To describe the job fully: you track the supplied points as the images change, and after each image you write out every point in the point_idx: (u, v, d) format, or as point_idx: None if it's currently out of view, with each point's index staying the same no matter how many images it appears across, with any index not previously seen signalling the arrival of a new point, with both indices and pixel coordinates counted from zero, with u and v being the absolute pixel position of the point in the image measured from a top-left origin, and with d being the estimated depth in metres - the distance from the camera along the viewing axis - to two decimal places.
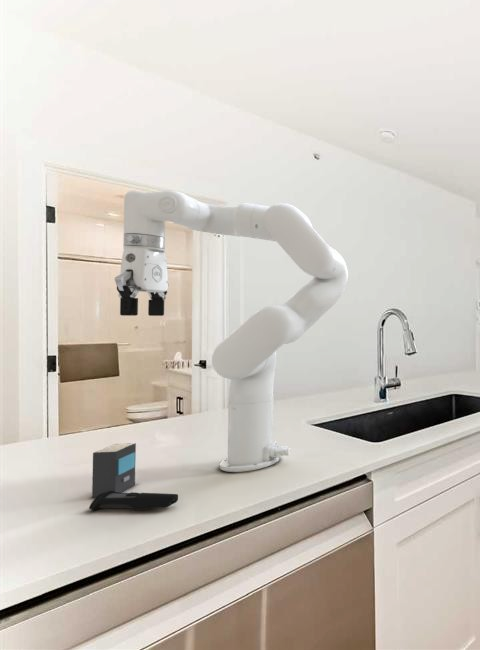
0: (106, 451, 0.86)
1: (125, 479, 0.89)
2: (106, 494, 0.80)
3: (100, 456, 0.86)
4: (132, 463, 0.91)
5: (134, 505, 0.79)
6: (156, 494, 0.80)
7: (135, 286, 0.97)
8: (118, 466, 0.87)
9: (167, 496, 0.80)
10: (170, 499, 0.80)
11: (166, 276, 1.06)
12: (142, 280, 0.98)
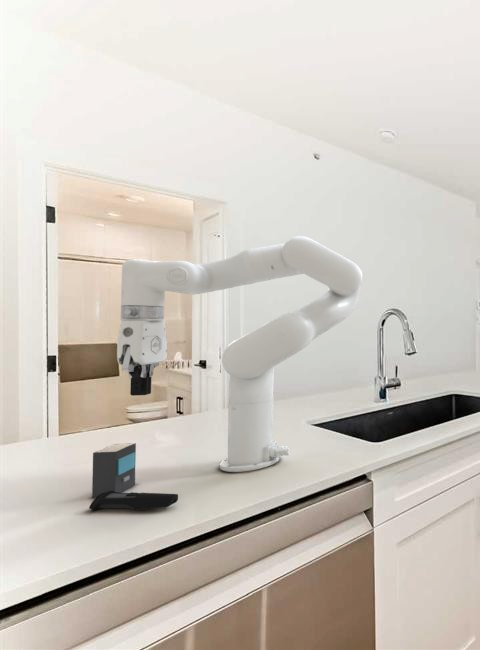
0: (106, 451, 0.86)
1: (125, 479, 0.89)
2: (106, 494, 0.80)
3: (100, 456, 0.86)
4: (132, 463, 0.91)
5: (134, 505, 0.79)
6: (156, 494, 0.80)
7: (140, 366, 0.95)
8: (118, 466, 0.87)
9: (167, 496, 0.80)
10: (170, 499, 0.80)
11: (165, 345, 1.01)
12: (140, 355, 0.93)
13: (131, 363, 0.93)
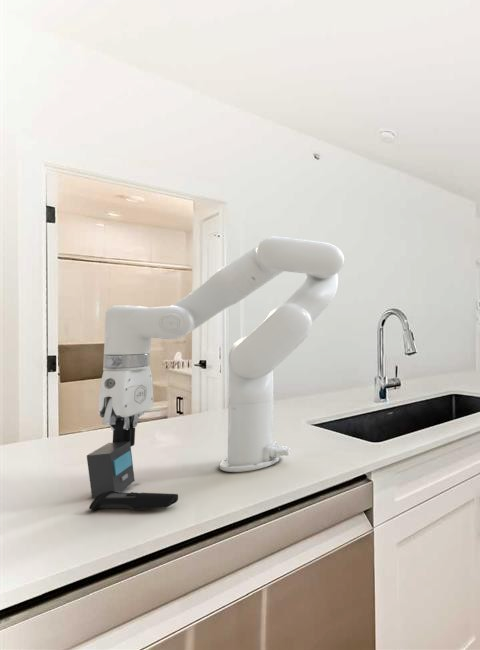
0: (100, 453, 0.85)
1: (123, 478, 0.88)
2: (106, 494, 0.80)
3: (94, 458, 0.85)
4: (128, 461, 0.90)
5: (134, 505, 0.79)
6: (156, 494, 0.80)
7: (123, 418, 0.90)
8: (114, 467, 0.86)
9: (167, 496, 0.80)
10: (170, 499, 0.80)
11: (151, 392, 0.97)
12: (122, 408, 0.88)
13: (113, 416, 0.88)
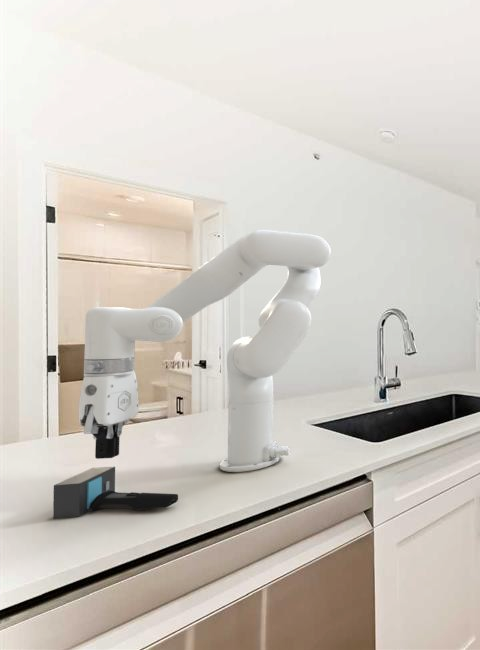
0: (66, 514, 0.77)
1: (107, 487, 0.84)
2: (106, 494, 0.80)
3: None
4: (97, 483, 0.81)
5: (134, 505, 0.79)
6: (156, 494, 0.80)
7: (105, 426, 0.85)
8: None
9: (167, 496, 0.80)
10: (170, 499, 0.80)
11: (136, 399, 0.91)
12: (104, 416, 0.83)
13: (94, 425, 0.83)
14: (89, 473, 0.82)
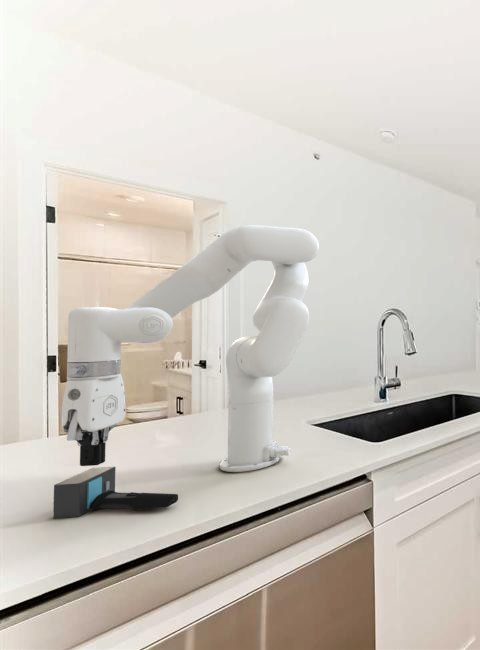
0: (66, 514, 0.77)
1: (107, 487, 0.84)
2: (106, 494, 0.80)
3: None
4: (97, 483, 0.81)
5: (134, 505, 0.79)
6: (156, 494, 0.80)
7: (90, 432, 0.81)
8: None
9: (167, 496, 0.80)
10: (170, 499, 0.80)
11: (123, 403, 0.88)
12: (89, 421, 0.79)
13: (78, 431, 0.79)
14: (89, 473, 0.82)
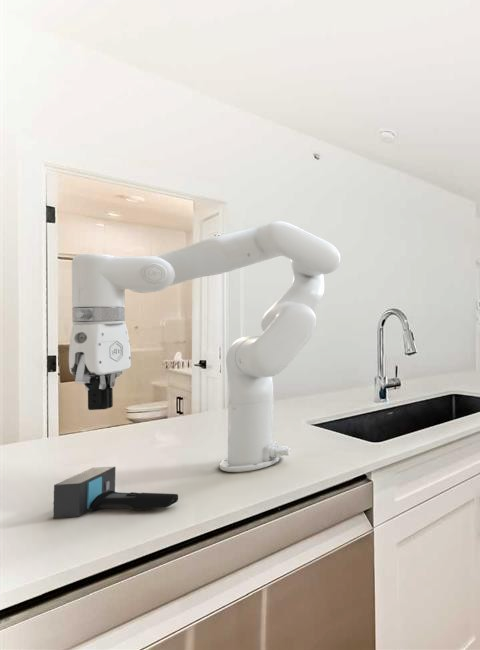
0: (66, 514, 0.77)
1: (107, 487, 0.84)
2: (106, 494, 0.80)
3: None
4: (97, 483, 0.81)
5: (134, 505, 0.79)
6: (156, 494, 0.80)
7: (98, 376, 0.83)
8: None
9: (167, 496, 0.80)
10: (170, 499, 0.80)
11: (128, 351, 0.89)
12: (96, 364, 0.80)
13: (86, 373, 0.81)
14: (89, 473, 0.82)
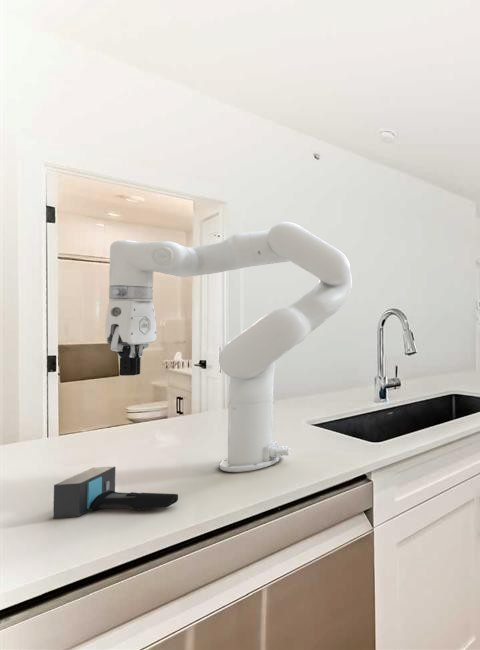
0: (66, 514, 0.77)
1: (107, 487, 0.84)
2: (106, 494, 0.80)
3: None
4: (97, 483, 0.81)
5: (134, 505, 0.79)
6: (156, 494, 0.80)
7: (129, 346, 0.96)
8: None
9: (167, 496, 0.80)
10: (170, 499, 0.80)
11: (154, 326, 1.02)
12: (128, 335, 0.93)
13: (119, 343, 0.93)
14: (89, 473, 0.82)
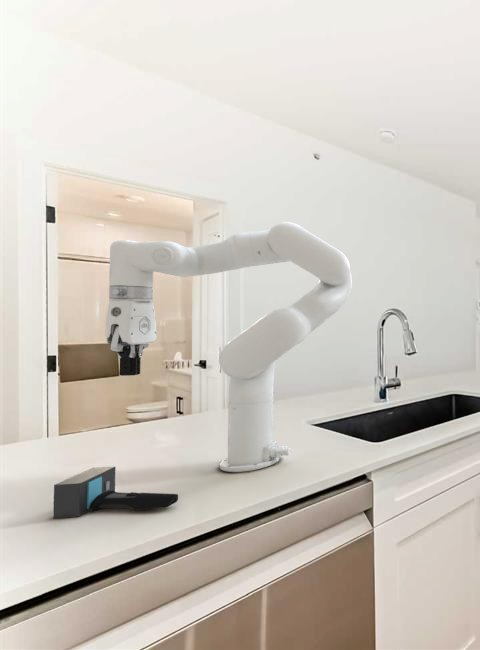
0: (66, 514, 0.77)
1: (107, 487, 0.84)
2: (106, 494, 0.80)
3: None
4: (97, 483, 0.81)
5: (134, 505, 0.79)
6: (156, 494, 0.80)
7: (129, 346, 0.96)
8: None
9: (167, 496, 0.80)
10: (170, 499, 0.80)
11: (154, 326, 1.02)
12: (128, 335, 0.93)
13: (120, 343, 0.93)
14: (89, 473, 0.82)
